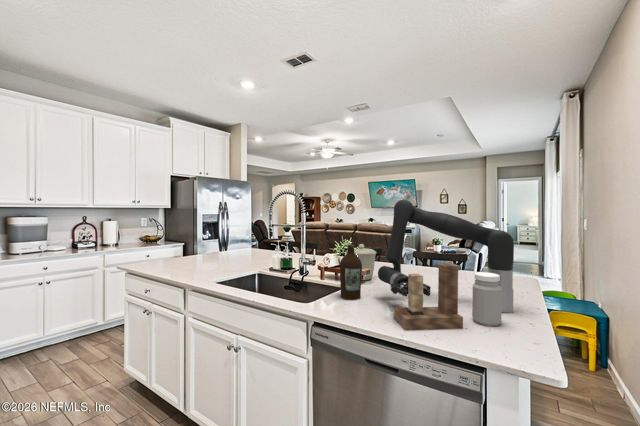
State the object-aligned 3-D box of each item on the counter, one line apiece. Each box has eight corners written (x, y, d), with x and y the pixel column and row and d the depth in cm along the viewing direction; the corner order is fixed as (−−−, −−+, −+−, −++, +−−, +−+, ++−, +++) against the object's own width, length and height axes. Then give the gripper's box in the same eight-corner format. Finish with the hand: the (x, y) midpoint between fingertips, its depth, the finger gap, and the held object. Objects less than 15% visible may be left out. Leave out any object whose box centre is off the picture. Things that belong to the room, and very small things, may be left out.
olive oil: (337, 294, 152) (337, 243, 152) (358, 293, 154) (358, 243, 154) (342, 300, 142) (342, 246, 142) (364, 299, 143) (364, 246, 143)
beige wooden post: (418, 321, 116) (418, 273, 116) (422, 325, 112) (423, 275, 112) (408, 321, 116) (408, 273, 116) (412, 325, 112) (412, 275, 112)
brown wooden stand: (447, 316, 121) (447, 261, 121) (464, 328, 109) (464, 267, 109) (394, 318, 119) (394, 262, 119) (405, 330, 108) (405, 268, 107)
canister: (340, 277, 191) (341, 243, 191) (365, 274, 199) (365, 242, 199) (356, 283, 175) (356, 246, 175) (382, 280, 183) (382, 245, 182)
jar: (475, 315, 123) (475, 270, 122) (503, 321, 116) (504, 273, 116) (468, 322, 115) (469, 274, 115) (498, 329, 109) (499, 278, 109)
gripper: (385, 274, 127) (398, 283, 111) (418, 273, 129) (436, 283, 113) (384, 292, 128) (398, 304, 111) (418, 291, 129) (436, 303, 113)
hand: (417, 293), depth 112 cm, fingers open, 8 cm apart
